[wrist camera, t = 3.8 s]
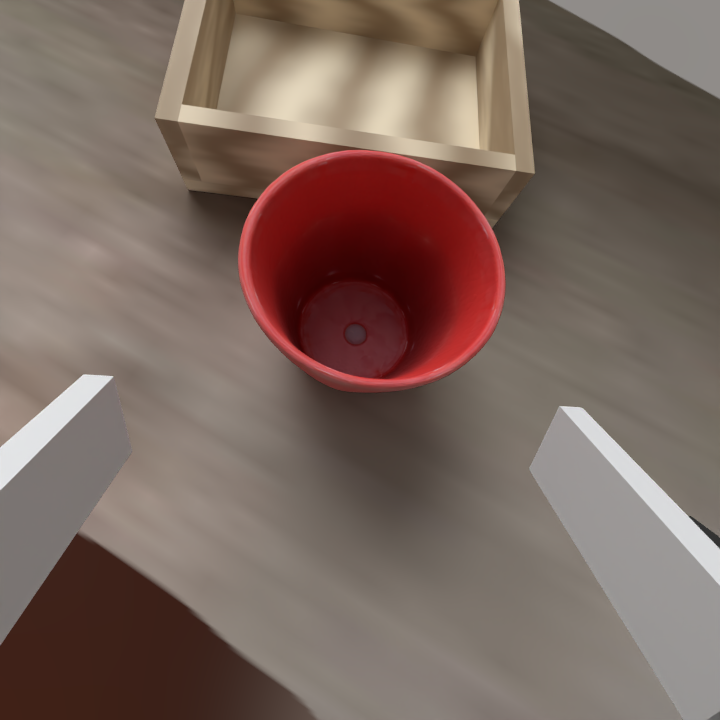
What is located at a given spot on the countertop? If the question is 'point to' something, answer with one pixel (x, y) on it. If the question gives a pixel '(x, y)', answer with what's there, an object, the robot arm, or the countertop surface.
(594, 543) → the robot arm
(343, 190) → the flower pot
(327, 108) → the pine crate
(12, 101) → the countertop surface
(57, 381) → the countertop surface
